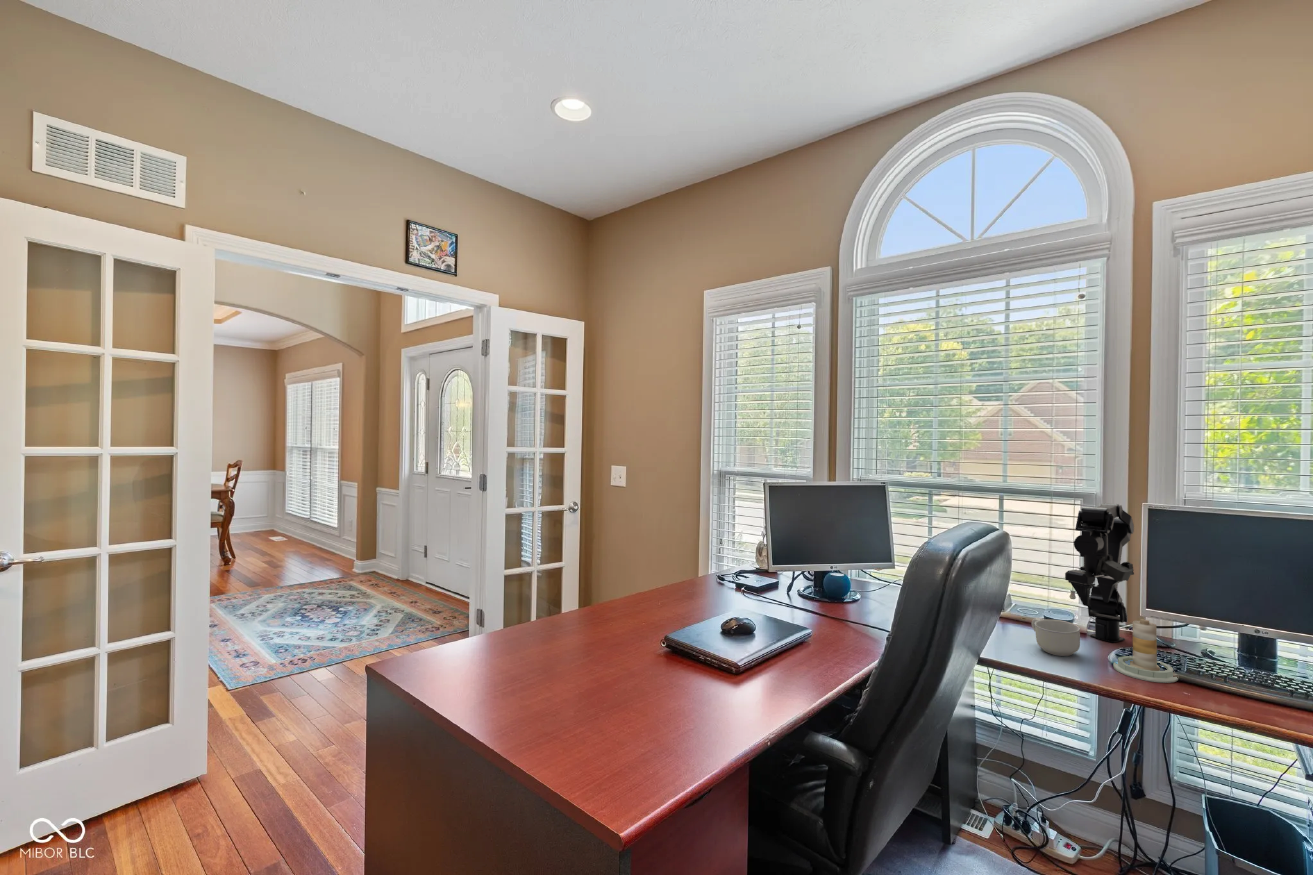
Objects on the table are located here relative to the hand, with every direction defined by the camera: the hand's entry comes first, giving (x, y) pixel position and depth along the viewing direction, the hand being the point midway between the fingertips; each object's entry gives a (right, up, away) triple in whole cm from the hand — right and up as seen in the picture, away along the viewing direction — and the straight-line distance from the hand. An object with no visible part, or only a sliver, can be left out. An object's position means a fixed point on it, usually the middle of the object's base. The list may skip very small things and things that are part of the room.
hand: (1096, 603), depth 171 cm
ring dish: (0, -13, -17) cm, 22 cm away
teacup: (-13, -13, -1) cm, 19 cm away
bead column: (0, -12, -17) cm, 21 cm away
